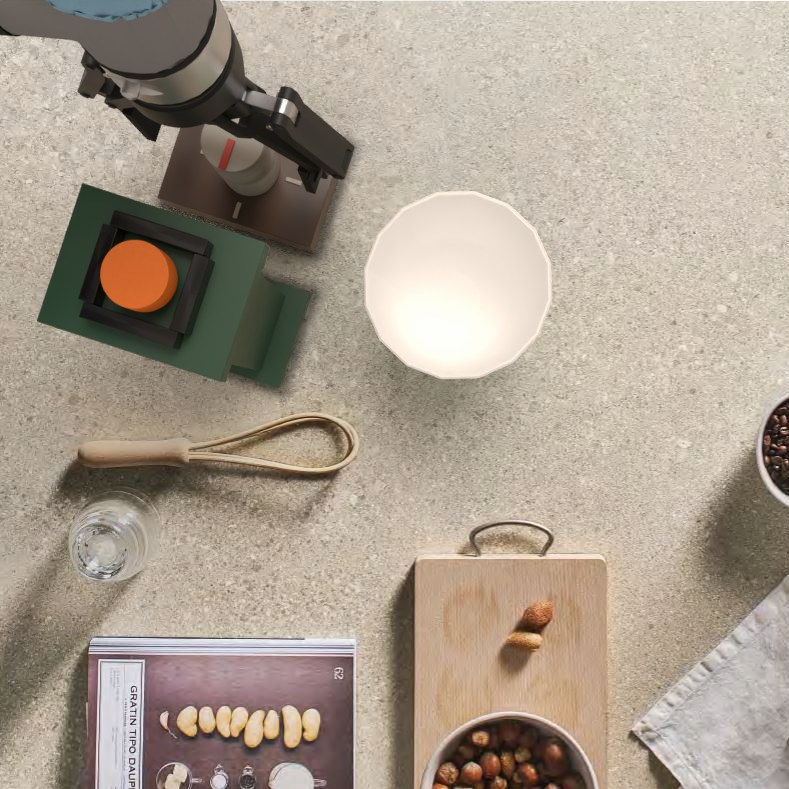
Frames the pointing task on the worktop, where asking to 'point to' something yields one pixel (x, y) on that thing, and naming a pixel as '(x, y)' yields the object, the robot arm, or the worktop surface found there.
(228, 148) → the dial
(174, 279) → the button
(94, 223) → the control post
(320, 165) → the robot arm
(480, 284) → the cup
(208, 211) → the dial panel
